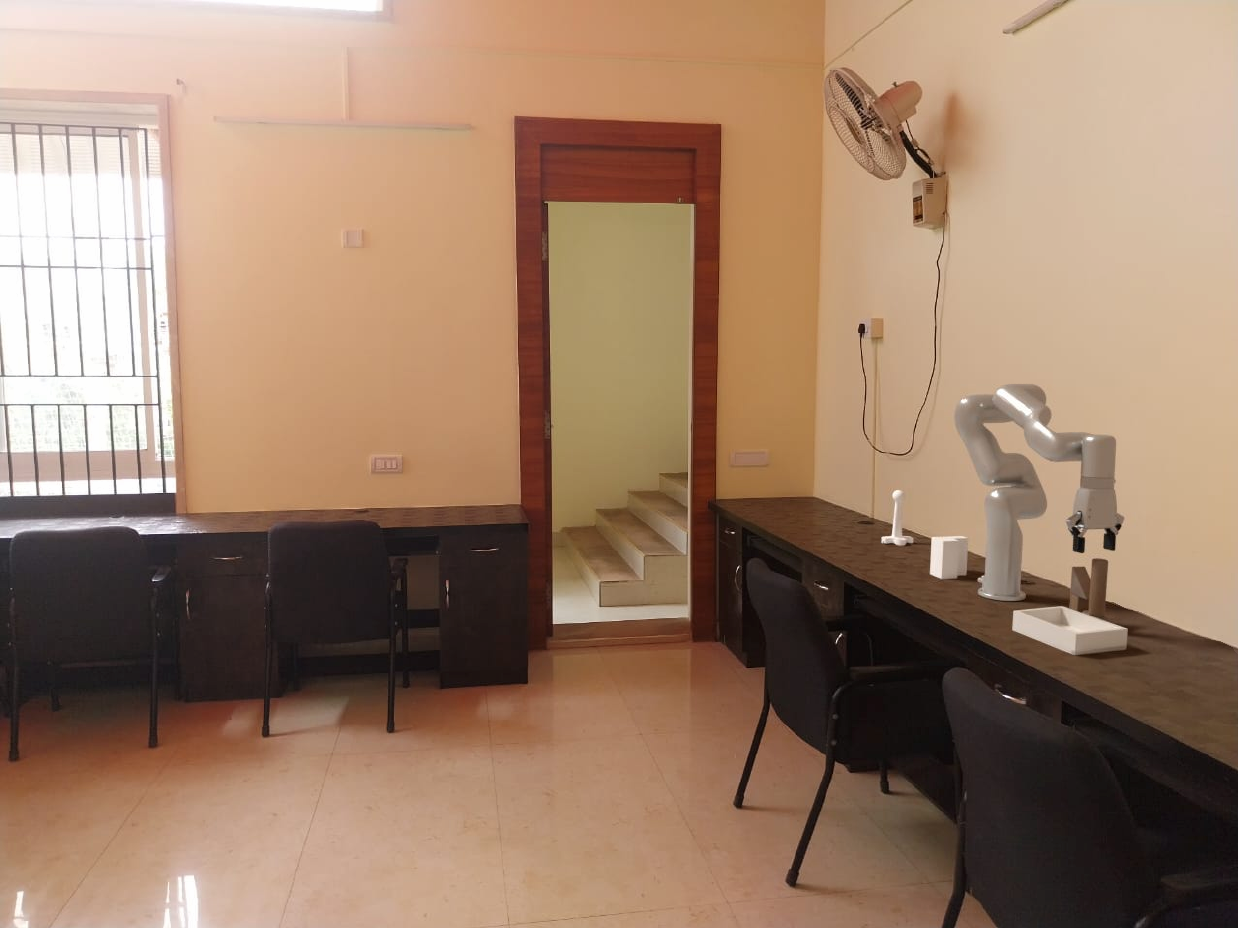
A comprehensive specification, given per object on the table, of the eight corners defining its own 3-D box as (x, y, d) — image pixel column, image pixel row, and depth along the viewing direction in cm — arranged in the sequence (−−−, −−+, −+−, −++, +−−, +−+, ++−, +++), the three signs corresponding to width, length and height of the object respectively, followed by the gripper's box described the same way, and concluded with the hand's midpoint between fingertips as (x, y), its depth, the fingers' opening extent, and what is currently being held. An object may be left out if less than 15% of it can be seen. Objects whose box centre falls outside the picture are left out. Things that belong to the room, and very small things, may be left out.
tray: (1012, 630, 221) (1013, 610, 220) (1060, 625, 225) (1061, 606, 224) (1074, 655, 202) (1076, 634, 201) (1126, 649, 206) (1127, 628, 205)
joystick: (908, 541, 330) (910, 489, 328) (917, 545, 323) (919, 492, 320) (880, 542, 329) (882, 489, 327) (887, 546, 322) (889, 492, 319)
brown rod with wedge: (1081, 619, 230) (1085, 551, 228) (1107, 631, 220) (1112, 561, 218) (1067, 619, 230) (1072, 552, 228) (1093, 631, 219) (1098, 561, 217)
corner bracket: (941, 579, 273) (943, 541, 271) (922, 570, 284) (923, 534, 283) (972, 577, 275) (974, 540, 274) (952, 569, 286) (953, 533, 285)
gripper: (1112, 481, 227) (1108, 546, 228) (1057, 483, 222) (1054, 550, 223) (1136, 484, 220) (1133, 551, 221) (1081, 486, 215) (1078, 555, 216)
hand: (1093, 550), depth 222 cm, fingers open, 9 cm apart
